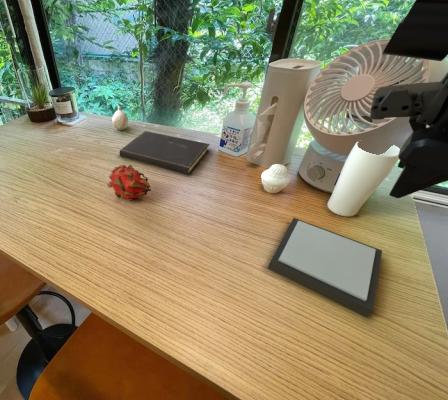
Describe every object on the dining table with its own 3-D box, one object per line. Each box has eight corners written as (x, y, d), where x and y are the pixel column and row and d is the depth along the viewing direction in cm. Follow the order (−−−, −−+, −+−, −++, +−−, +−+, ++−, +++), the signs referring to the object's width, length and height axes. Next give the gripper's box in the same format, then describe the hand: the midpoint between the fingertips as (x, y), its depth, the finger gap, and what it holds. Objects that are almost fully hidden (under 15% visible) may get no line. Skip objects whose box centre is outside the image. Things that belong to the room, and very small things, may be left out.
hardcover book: (145, 136, 90) (145, 130, 89) (208, 150, 79) (209, 143, 78) (119, 157, 80) (119, 150, 79) (187, 175, 70) (188, 168, 68)
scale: (376, 257, 45) (384, 248, 44) (365, 317, 38) (374, 308, 36) (290, 224, 53) (294, 215, 52) (267, 268, 45) (270, 259, 44)
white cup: (325, 216, 54) (360, 154, 45) (319, 197, 59) (351, 137, 49) (364, 223, 52) (410, 159, 42) (355, 202, 57) (395, 141, 47)
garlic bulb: (132, 126, 98) (130, 105, 93) (123, 133, 94) (121, 111, 89) (117, 124, 101) (115, 104, 96) (108, 130, 97) (106, 109, 92)
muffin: (258, 180, 66) (266, 156, 61) (285, 184, 63) (295, 160, 59) (256, 194, 61) (264, 169, 57) (285, 199, 59) (295, 174, 55)
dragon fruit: (111, 189, 70) (148, 209, 65) (94, 189, 62) (134, 211, 57) (123, 160, 68) (162, 178, 63) (107, 156, 60) (150, 176, 56)
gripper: (410, 42, 36) (348, 139, 47) (392, 74, 27) (319, 188, 37) (529, 55, 31) (428, 162, 41) (563, 101, 21) (419, 226, 32)
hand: (397, 181), depth 38 cm, fingers open, 9 cm apart
